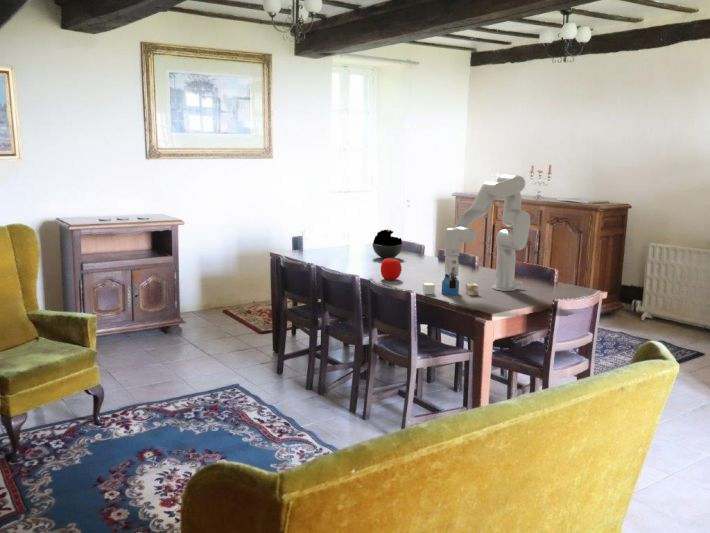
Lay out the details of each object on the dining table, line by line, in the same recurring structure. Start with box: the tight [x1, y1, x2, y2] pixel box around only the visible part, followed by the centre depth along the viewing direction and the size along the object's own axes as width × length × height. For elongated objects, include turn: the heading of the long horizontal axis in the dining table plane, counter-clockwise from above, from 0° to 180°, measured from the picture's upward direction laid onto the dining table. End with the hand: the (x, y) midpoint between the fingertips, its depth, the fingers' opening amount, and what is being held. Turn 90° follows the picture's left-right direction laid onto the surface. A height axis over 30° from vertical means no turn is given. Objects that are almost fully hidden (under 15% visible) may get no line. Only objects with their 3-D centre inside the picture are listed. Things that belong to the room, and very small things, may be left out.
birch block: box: [465, 283, 479, 296], centre depth 324 cm, size 5×5×5 cm
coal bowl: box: [371, 229, 404, 260], centre depth 417 cm, size 20×20×19 cm
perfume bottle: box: [441, 275, 460, 297], centre depth 323 cm, size 6×6×12 cm
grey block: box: [422, 282, 436, 295], centre depth 323 cm, size 5×5×5 cm
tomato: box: [380, 257, 402, 281], centre depth 353 cm, size 12×12×13 cm
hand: (449, 286), depth 323 cm, fingers closed on perfume bottle, 9 cm apart
